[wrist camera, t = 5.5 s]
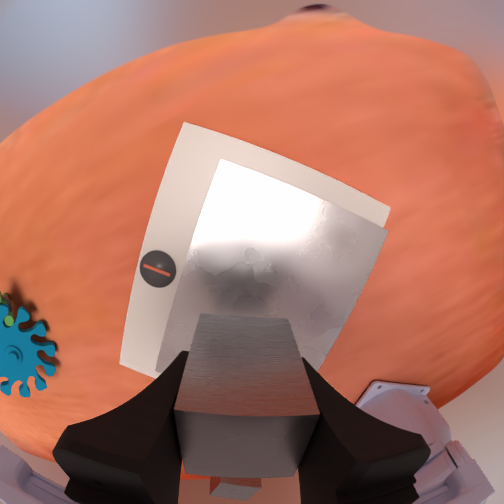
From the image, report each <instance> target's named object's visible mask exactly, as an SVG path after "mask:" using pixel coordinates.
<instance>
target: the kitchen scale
mask: <svg viewBox="0 0 504 504" xmlns="http://www.w3.org/2000/svg"><path fill="white" fill-rule="evenodd" d="M390 209H391V208H390V207H388V206H386V205H385V204H383V203H381V202H379V201H377V200H375V199H373V198H372V197H370V196H368V195H366V194H364V193H362V192H360V191H358V190H356V189H354V188H352V187H350V186H348V185H346V184H344V183H342V182H340V181H338V180H336V179H334V178H331V177H329V176H327V175H325V174H323V173H321V172H318V171H316V170H314V169H312V168H309V167H307V166H305V165H303V164H300V163H298V162H296V161H293V160H291V159H288V158H286V157H283V156H281V155H279V154H276V153H274V152H271V151H268V150H266V149H263V148H261V147H258V146H255V145H253V144H250V143H247V142H244V141H242V140H239V139H236V138H233V137H230V136H227V135H224V134H221V133H218V132H215V131H212V130H209V129H206V128H203V127H199V126H196V125H193V124H189V123H186V122H184V123H183V126H182V128H181V131H180V133H179V136H178V138H177V141H176V143H175V146H174V148H173V151H172V154H171V156H170V159H169V162H168V165H167V167H166V170H165V173H164V176H163V179H162V182H161V185H160V188H159V191H158V194H157V197H156V200H155V203H154V206H153V210H152V213H151V216H150V220H149V223H148V227H147V230H146V234H145V237H144V241H143V245H142V249H141V253H140V257H139V261H138V265H137V269H136V273H135V278H134V282H133V287H132V291H131V296H130V301H129V306H128V312H127V317H126V323H125V329H124V335H123V341H122V348H121V355H120V363H119V364H121V365H123V366H126V367H128V368H130V369H133V370H135V371H138V372H140V373H143V374H145V375H148V376H151V377H153V378H157V377H158V376H159V375H160V374H161V373H162V372H163V371H164V370H165V369H166V368H167V367H168V366H169V365H170V364H171V363H172V361H173V360H174V359H175V358H176V357H177V356H178V354H179V353H180V352H181V351H182V350H183V351H190V347H191V344H192V340H193V337H194V333H195V330H196V326H197V323H198V319H199V316H200V313H206V314H219V315H232V316H247V317H266V318H288V320H289V323H290V326H291V329H292V331H293V334H294V337H295V340H296V343H297V346H298V349H299V352H300V355H301V357H304V358H305V359H306V360H307V361H308V362H309V364H310V365H311V366H312V367H313V368H314V369H315V370H316V371H318V369H319V368H320V366H321V365H322V363H323V361H324V360H325V358H326V356H327V355H328V353H329V351H330V350H331V348H332V346H333V344H334V343H335V341H336V339H337V337H338V336H339V334H340V332H341V330H342V329H343V327H344V325H345V323H346V321H347V319H348V317H349V316H350V314H351V312H352V310H353V308H354V306H355V304H356V302H357V300H358V298H359V296H360V294H361V292H362V290H363V288H364V286H365V284H366V282H367V280H368V277H369V275H370V273H371V271H372V269H373V267H374V264H375V262H376V260H377V258H378V255H379V253H380V251H381V248H382V246H383V244H384V241H385V239H386V236H387V234H388V230H386V229H384V228H383V227H384V225H385V222H386V220H387V217H388V214H389V212H390Z"/></svg>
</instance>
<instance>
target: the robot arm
mask: <svg viewBox="0 0 504 504" xmlns="http://www.w3.org/2000/svg"><path fill="white" fill-rule="evenodd" d="M188 355H189V351H183V350H182V351H181V352H180V353H179V354H178V356H177V357H176V358H175V359H174V360H173V361H172V363H171V364H170V365H169V366H168V367H167V368H166V369H165V370H164V371H163V372H162V373H161V374H160V375H159V376H158V377H157V378H156V379H155V380H154V381H153V382H152V383H151V384H150V385H149V386H147V387H146V388H145V389H144V390H143V391H141V392H140V393H139V394H137V395H136V396H135V397H133V398H132V399H130V400H129V401H127V402H125V403H124V404H122V405H121V406H119V407H117V408H115V409H113V410H111V411H109V412H107V413H105V414H103V415H100V416H98V417H95V418H93V419H90V420H87V421H83V422H80V423H76V424H73V425H69V426H67V428H66V429H65V430H64V432H63V433H62V435H61V437H60V438H59V440H58V442H57V444H56V446H55V448H54V449H53V451H52V452H53V456H54V458H55V460H56V462H57V463H58V464H59V466H60V467H61V468H62V469H63V471H64V472H65V473H66V474H67V475H68V476H69V478H70V480H69V482H68V484H67V486H66V487H64V486H62V485H59V484H57V483H55V482H53V481H52V480H50V479H48V478H46V477H44V476H42V475H40V474H39V473H37V472H35V471H33V470H32V468H31V467H30V466H29V465H28V464H27V462H26V461H25V460H23V459H22V458H21V457H20V456H18V455H17V454H15V453H14V452H12V451H11V450H9V449H8V448H6V447H5V446H3V445H1V446H0V501H1V502H3V503H4V504H178V495H179V483H180V473H181V464H182V455H181V449H180V444H179V438H178V433H177V427H176V420H175V414H174V407H175V403H176V399H177V395H178V392H179V388H180V384H181V380H182V377H183V373H184V369H185V366H186V362H187V358H188ZM301 358H302V361H303V364H304V367H305V370H306V373H307V376H308V379H309V382H310V385H311V388H312V391H313V394H314V397H315V400H316V403H317V406H318V409H319V412H320V416H319V418H318V421H317V424H316V426H315V429H314V431H313V434H312V436H311V439H310V441H309V443H308V446H307V448H306V450H305V453H304V455H303V457H302V459H301V461H300V464H299V466H298V472H299V482H300V494H301V504H485V502H486V500H487V499H488V498H489V497H490V496H492V495H493V494H494V492H495V490H494V489H493V487H492V486H491V484H490V482H489V481H488V480H487V478H486V476H485V475H484V473H483V472H482V470H481V469H480V467H479V466H478V464H477V463H476V461H475V460H474V459H472V458H471V457H470V455H469V454H468V452H467V451H466V450H465V448H464V447H463V446H462V444H461V443H460V442H459V441H452V440H451V431H450V427H449V425H448V423H447V422H446V421H445V419H444V418H443V417H442V415H441V414H440V413H439V411H438V410H437V409H436V407H435V406H434V405H433V403H432V402H431V401H430V399H429V398H428V397H427V394H428V392H429V391H430V387H429V386H419V385H409V384H399V383H390V382H383V381H374V382H372V383H371V385H370V386H369V387H368V389H367V390H366V392H365V393H364V394H363V396H362V397H361V398H360V399H359V401H358V402H357V403H356V405H354V404H352V403H351V402H350V401H348V400H347V399H346V398H344V397H343V396H342V395H341V394H340V393H338V392H337V391H336V390H335V389H334V388H333V387H332V386H331V385H329V384H328V383H327V382H326V381H325V380H324V379H323V378H322V377H321V376H320V374H319V373H318V372H317V371H316V370H315V369H314V368H313V367H312V366H311V365H310V364H309V362H308V361H307V360H306V359H305V358H304V357H301Z"/></svg>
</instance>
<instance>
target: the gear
mask: <svg viewBox="0 0 504 504" xmlns="http://www.w3.org/2000/svg"><path fill="white" fill-rule="evenodd" d="M29 318H30V313H29V312H28V311H27V309H25V308H24V307H23V306H20V307H19V309H18V314H17V317H16V319H15V320H14V314H13V313H12V307H11V301H10V299H9V298H8V295H7V294H6V293H4V294H3V295H2V294H1V292H0V377H7V378H8V381H3V382H1V384H0V390H1V391H2V392H3V393H4V394H6V395H8V396H9V395H11V387H12V385H13V383H14V382H15V381H17V380H20V381H22V382H23V383H22V384H21V385H20V386H19V392H20V395H21V396H23V397H30V389H29V387H28V385H27V380H28V377H29V376H34V377H35V385H36V388H37V390H39V391H41V390H44V389H45V388H47V385H46V382H45V380H44V379H43V378H42V377H41V376H40V375H39V374H38V373H37V370H36V366H37V365H42V366H43V367H44V369H45V372H46V374H47V375H48V376H52V375H53V374H54V373H55V371H56V368H55V365H54V364H53V363H52V362H48V361H45V360H43V359H42V358H41V357H40V356H39V355H38V354H37V352H38V351H39V350H43V351H44V352H45V353H46V354H47V355H48V356H50V357H53V356H54V355H55V345H54V343H53V342H51V341H49V342H46V343H39V342H36V341H34V340H32V339H31V336H32V335H33V334H36V335H38V336H41V337H43V336H45V335H46V329H45V326H44V324H43V322H42V321H38V322H36V324H35V325H34V326H33V327H31V328H29V329H21V328H19V326H18V324H19V323H20V322H26V321H28V320H29Z"/></svg>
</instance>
